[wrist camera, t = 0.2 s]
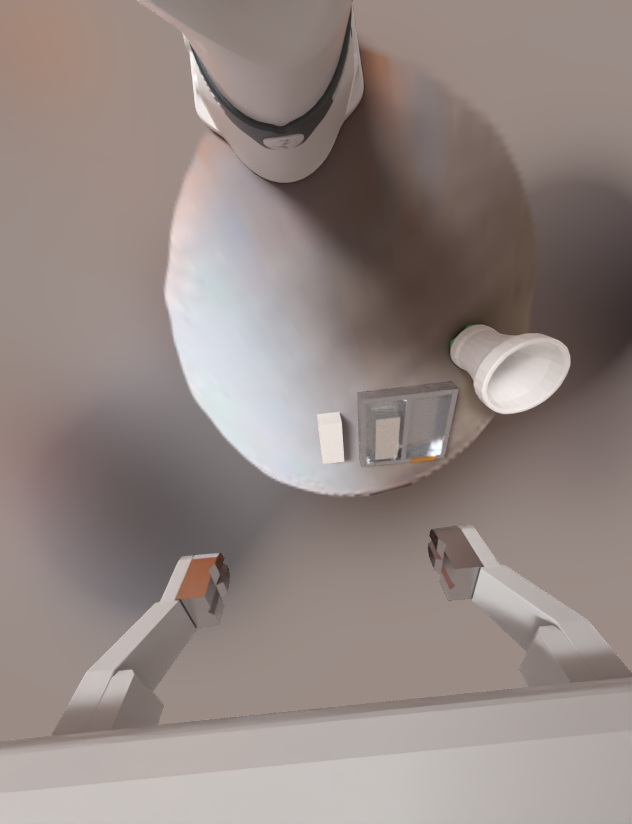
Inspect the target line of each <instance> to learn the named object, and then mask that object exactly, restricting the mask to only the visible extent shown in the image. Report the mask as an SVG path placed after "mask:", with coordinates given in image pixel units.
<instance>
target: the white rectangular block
mask: <svg viewBox="0 0 632 824" xmlns="http://www.w3.org/2000/svg"><path fill="white" fill-rule="evenodd" d="M317 419H318V428H319V436H320V445H321V453H322V461H323V464H327V463H336V462H344V450H343V434H342V421H341V417H340V413H339V412H334V413H326V414H317Z"/></svg>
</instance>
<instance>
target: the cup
mask: <svg viewBox="0 0 632 824" xmlns="http://www.w3.org/2000/svg"><path fill="white" fill-rule="evenodd" d="M450 351H451V352H450V355H451V359H452V361H453V362H454V363H455V364H456V365H457V366H459V367H460V368H461V369H463V370H466V371H467V372H468V373H469V374H470V376H471V377H472V379H473V381H474V384H473V385H474V389H475V392H476V394H477V396H478V397H479V399H480V400H481V401H482V402H483V403H484V404H485V405H486V406H487V407H489V408H490V409H491V410H493V411H495V412H498V413H501V414H513V413H519V412H523V411H525V410H528V409H531V408H533V407H535V406H537V405H539V404H540V403H542V402H544V401H545V400H546V399H547V398H549V397H550V396H551V395H552V394H553V393H554V392H555V391H556V390H557V389H558V388H559V386H560V385H561V384H562V382H563V380H564V379H565V377H566V375H567V373H568V370H569V367H570V354H569V352H568V348H567V347H566V346H565V345H564V344H563V343H562V342H561V341H559V340H556V339H554V338H552V337H549V336H545V335H543V334H540V333H526V334H521V335H517V336H515V335H505V334H501V333H498V332H497V331H496V330H495V329H493V328H491V327H489V326H486V325H468V326H467V327H466V328H465V329H464V330H463V331H462V332H461V333H460V334H459V335H458V336H457V337H455V338H454V339H453V340H451V342H450Z"/></svg>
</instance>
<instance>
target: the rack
mask: <svg viewBox="0 0 632 824" xmlns="http://www.w3.org/2000/svg"><path fill="white" fill-rule="evenodd" d="M458 391H459V388H458V387H457V386H455V385H454V384H453V383H452V382H451V381H450V382H442V383H433V384H425V385H416V386H408V387H399V388H391V389H383V390H374V391H366V392H357V395H358V435H359V459H360V463H361V467H369V466H378V465H387V464H396V463H404V462H411V463H413V462H422V461H431V460H435V459H439V458H445V453H446V448H447V443H448V438H449V434H450V429H451V424H452V419H453V414H454V410H455V405H456V400H457V395H458Z"/></svg>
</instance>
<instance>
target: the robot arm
mask: <svg viewBox="0 0 632 824" xmlns="http://www.w3.org/2000/svg"><path fill="white" fill-rule="evenodd" d="M136 1H138V2H139V3H141V4H142V5H144V6H145V7H147V8H148V9H150V10H151V11H153V12H154V13H156V14H157V15H159V16H160V17H162V18H163V19H165V20H167V21H168V22H169V23H171V24H172V25H174V26H175V27H176V28H177V29H179V30H180V31H181V32H183V37H184V41H185V45H186V48H187V50H188V51H189V52H190V61H191V71H192V80H193V90H194V99H195V107H196V111H197V113H198V115H199V117H200V119H201V120H202V122H203V123H204V124H205V125H206V126H207V127H209V128H210V129H211V130H213V131H214V132H216V133H217V134H219V135H220V136H222V137H223V138H224V139H225V140H226V141H227V142H228V143H229V145H230V146H231V147H232V149H233V150H234V152H235V153H236V154H237V156H238V157H239V158H240V159H241V161H242V162H243V163H244V164H245V165H246V166H247V167H248V168H249V169H251V170H252V171H253V172H255V173H256V174H257V175H259V176H261V177H263V178H265V179H267V180H270V181H274V182H280V183H289V182H295V181H298V180H301V179H303V178H305V177H307V176H309V175H310V174H311V173H313V172H314V171H315V170H316V169H317V168H318V167H319V166H320V165H321V164H322V163H323V162H324V160H325V159H326V158H327V156H328V154H329V153H330V151H331V149H332V147H333V145H334V143H335V140H336V138H337V135H338V133H339V130H340V128H341V126H342V124H343V122H344V121H345V120H346V119H347V117H348V116H349V115H350V114H351V113H352V112H353V111H354V110H355V108H356V107H357V106H358V104H359V103H360V101H361V98H362V95H363V90H364V81H363V74H362V67H361V60H360V52H359V45H358V38H357V31H356V24H355V17H354V10H353V2H352V1H353V0H136ZM429 536H430V538H431V541H430V542H429V543H428V553H429V558H430V561H431V563H432V566H433V568H434V570H435V571H436V572H438V573H439V574H440V584H441V586H442V588H443V591H444V593H445V595H446V597H447V599H448V601H451V600H465V599H472V601H473V602H474V603H476V605H478V606H479V607H480V608H481V609H482V610H483V611H484V612H485V613H486V614H487V615H488V616H489V617H490V618H491V619H492V620H493V621H495V622H496V623H497V624H498V625H499V626H500V627H501V628H502V629H503V630H504V631H505V632H506V633H507V634H508V635H509V636H510V637H511V638H512V639H514V640H515V641H516V642H517V643H518V644H519V645H520V646H521V647H522V648H523V649H524V650H525V651H526V654H525V656H524V658H523V660H522V662H521V664H520V668H519V670H520V672H521V674H522V676H523V678H524V679H525V681H526V683H527V685H528V687H524V688H514V689H504V690H495V691H486V692H475V693H465V694H455V695H445V696H435V697H426V698H416V699H407V700H396V701H386V702H377V703H367V704H359V705H358V704H357V705H347V706H339V707H338V706H337V707H328V708H318V709H308V710H298V711H288V712H279V713H269V714H260V715H249V716H239V717H230V718H220V719H210V720H200V721H190V722H181V723H171V724H161V725H158V723H159V719H160V716H161V713H162V710H163V707H164V706H163V703H162V701H161V700H160V699H159V698H158V696H156V694H155V693H154V692H153V691H154V690H155V688H156V687H157V685H158V684H159V682H160V681H161V680H162V678H163V677H164V675H165V674H166V673H167V671H168V670H169V668H170V667H171V665H172V664H173V663H174V661H175V660H176V658H177V657H178V656H179V654H180V653H181V651H182V650H183V648H184V647H185V646H186V644H187V643H188V641H189V640H190V639H191V637H192V636H193V634H194V633H195V632H196V628H203V627H210V626H217V625H220V621H221V617H222V613H223V609H224V603H223V600H222V598H223V597H224V596H225V595H226V593H227V592H228V588H229V583H230V572H229V568H228V566H227V565H226V564H224V563H223V562H224V556H223V554H222V553H215V554H204V555H193V556H183V557H181V559H180V560H179V561H178V563H177V565H176V567H175V570H174V572H173V574H172V576H171V579H170V581H169V583H168V585H167V588H166V590H165V592H164V594H163V597H162V599H161V601H160V602H157V603H155V604H154V605H153V606H152V607H151V608H150V609H149V610H148V611H147V612H146V613H145V614H144V615H143V616H142V617H141V618H140V619H139V620H138V621H137V622H136V623H135V624H134V625H133V626H132V627H131V628H130V629H129V630H128V631H127V632H126V633H125V634H124V635H123V636H122V637H121V638H120V639H119V640H118V641H117V642H116V643H115V644H114V645H113V646H112V647H111V648H110V649H109V650H108V651H107V652H106V653H105V654H104V655H103V656H102V657H101V658H100V659H99V660H98V661H97V662H96V663H95V664H94V665H93V666H92V667H91V668H90V669H89V670H88V671H87V672H86V674H85V676H84V677H83V679H82V681H81V683H80V685H79V686H78V688H77V690H76V692H75V693H74V695H73V697H72V699H71V701H70V703H69V704H68V706H67V708H66V710H65V711H64V713H63V715H62V717H61V719H60V720H59V722H58V724H57V726H56V728H55V730H54V731H53V733H52V735H51V736H44V737H34V738H24V739H16V740H5V741H0V824H632V673H631V671H630V670H629V669H628V668H627V667H626V666H625V664H624V663H623V662H622V661H621V659H620V658H619V657H618V656H617V655H616V653H615V652H614V651H613V650H612V649H611V647H610V646H609V645H608V644H607V643H606V641H605V640H604V639H603V638H602V637H601V635H600V634H599V633H598V632H597V631H596V629H595V628H594V627H593V626H592V624H591V623H590V622H589V621H588V620H587V619H585V618H584V617H582V616H581V615H579V614H578V613H576V612H575V611H573V610H571V609H570V608H569V607H567V606H566V605H564V604H563V603H561V602H560V601H558V600H557V599H555V598H554V597H552V596H551V595H549V594H548V593H546V592H545V591H543V590H542V589H540V588H538V587H537V586H536V585H534V584H533V583H531V582H530V581H528V580H526V579H525V578H523V577H522V576H521V575H519V574H517V573H516V572H515V571H513V570H512V569H510V568H509V567H507V566H506V565H500V564H499V562H498V561H497V560H496V558H495V557H494V555H493V554H492V552H491V551H490V550H489V548H488V547H487V545H486V544H485V542H484V541H483V539H482V538H481V536H480V535H479V534H478V532H477V531H476V529H475V528H474V527H473V526H472V525H464V526H452V527H445V528H436V529H431V530H430V534H429Z"/></svg>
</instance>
